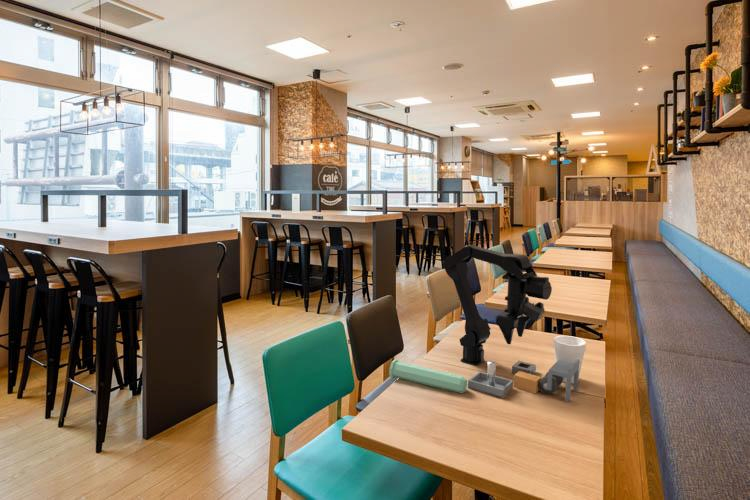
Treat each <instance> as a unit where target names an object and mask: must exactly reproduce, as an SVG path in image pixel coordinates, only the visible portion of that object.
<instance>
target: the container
mask: <svg viewBox="0 0 750 500" xmlns="http://www.w3.org/2000/svg"><path fill="white" fill-rule="evenodd" d="M388 370H389V372H388V373H389V374H388V375H389V377H390V378H393V379H394V378H399V379H402V380H404V381H405V380H406V381H411V382H413V383H418V384H422V385H426V386H430V387H434V388H437V389H442V390H446V391H451V392H454V393H455V392H456V393H460V394H463V393H465V392H467V391H466V390H467V388H468V379H467V378H466V377H465V376H463V375H457V374H453V373H449V372H445V371H441V370H436V369H432V368H427V367H424V366H423V367H422V366H419V365H414V364H410V363H406V362H400V361H399V360H398V359H394V360H392V361H391V363H390V365H389V369H388Z"/></svg>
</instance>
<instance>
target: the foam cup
mask: <svg viewBox="0 0 750 500" xmlns="http://www.w3.org/2000/svg"><path fill="white" fill-rule="evenodd" d="M586 348H587V342H586V340H584V339H582V338H580V337H576V336H572V335H570V336H569V335H558V336H554V337H553V349H554V362H555V363H556V362H557V361H558V360H562V361H567V362H571V363H574V362H575V361H576V360H577V359H580V360H579V375H578V380H579V379H580V373H581V369H582V365H583V360H584V357H585V356H584V355H585V352H586V350H587V349H586ZM555 363H554V364H555ZM566 382H567V378H565V377H563V382H562V383H566ZM571 384H574V375H573V376H572V377H571Z"/></svg>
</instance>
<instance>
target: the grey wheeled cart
mask: <svg viewBox="0 0 750 500" xmlns="http://www.w3.org/2000/svg"><path fill="white" fill-rule="evenodd" d="M579 360H580V359H577V360H576V361H575V362H574V363H571V362H567V361H562V360H558V361H557V362H556V363H554V364H553V365H552V366H551V367H550V368H549V369H548V371H547V372H546V373H545V375H544V376H542V377H541V380H540V381H539V383H538V387H539V389H540V390H539V391H540V392H541V393H542V394H545V395H547V396H548V395H549V396H551V395H553V394H554V393H555V392H556V391H557V390H558V387H560V386H561V385H562V384H563V383H564V382H563V377H565V378H567V382H566V384H565V385H566V387H565V401H566V402H570V401H571V387H572V383H571V377H572V376H573V375H574V383H573V389H572V390H573V391H578V387H579V379H578V375H579ZM579 376H580V375H579Z"/></svg>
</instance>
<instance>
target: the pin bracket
mask: <svg viewBox="0 0 750 500" xmlns="http://www.w3.org/2000/svg"><path fill="white" fill-rule="evenodd" d="M519 371H521V372H525V373H528V374H532V375H535V373H536V371H537V364H534V363H529V362H525V361H521V360H518V361H516V362H515V363H514V364H513V365H511V373H512V374H514V375H515V374H516V373H517V372H519Z"/></svg>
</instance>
